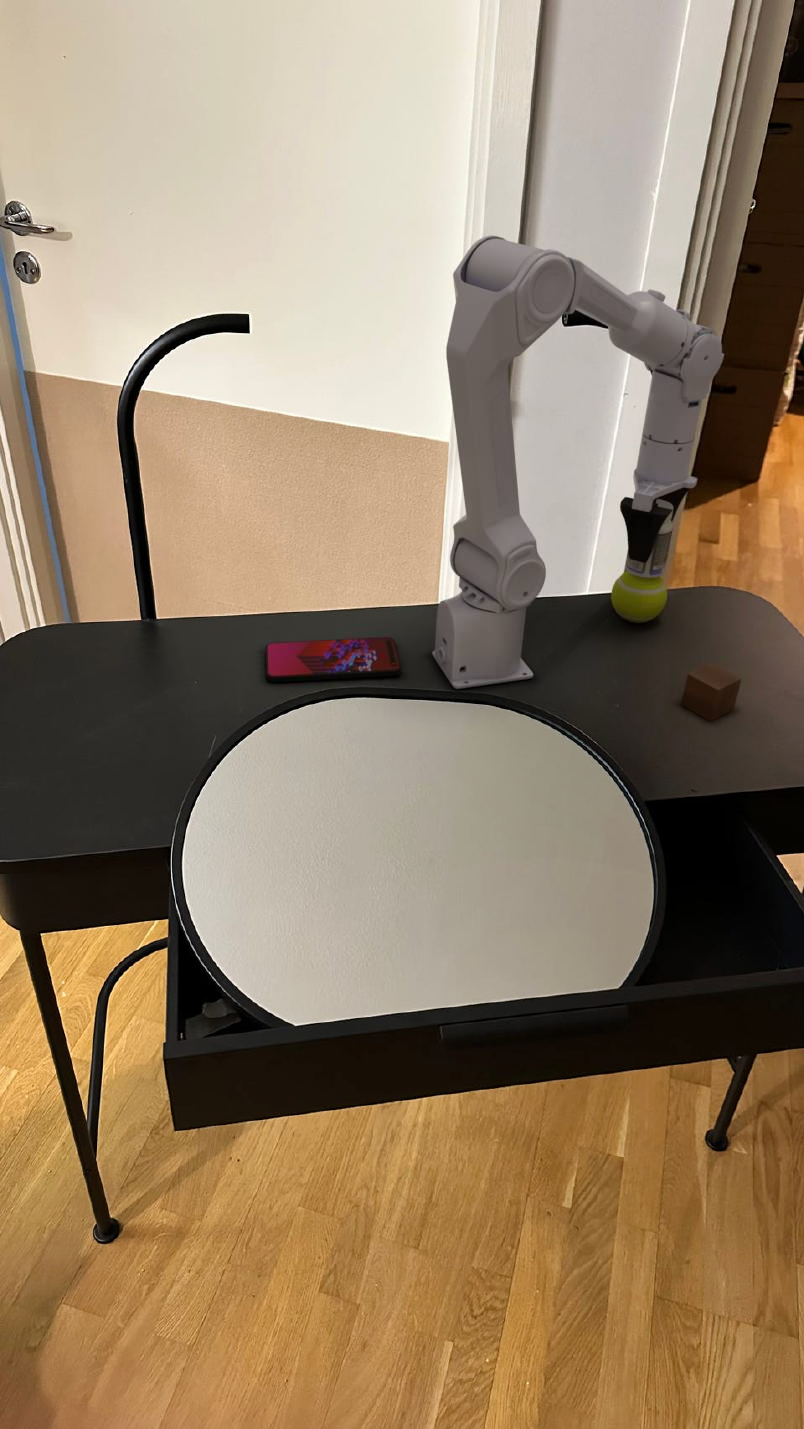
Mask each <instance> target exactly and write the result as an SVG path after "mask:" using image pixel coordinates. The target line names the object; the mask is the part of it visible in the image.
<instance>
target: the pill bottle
mask: <svg viewBox="0 0 804 1429" xmlns="http://www.w3.org/2000/svg"><path fill="white" fill-rule="evenodd" d="M657 503H658V507H663V508H668V509H672V510H673V505H672V504H671V503H669V502H667V501H664V500H659V499H657V501H656V504H657ZM672 514H673V511H672V512H671V513H670V514H669V516H668V517H667V518H666V520H665V521H664V523H663V525H662V527H661V529H660V531H659V533H658V536H657V538H656V541H655V544H654V547H653V550H652V553H651V555H650V557H649V559H648V561H647V562H646V563H644V562H639V561H635V560H631V559H629V553H628V552H627V553H626V560H625V567H624V568H625V570H626V571H628V572H629V573H630V574H632V575H634V576H637V577H642V578H657V577H662V576H663V575H664V574H665V571H666V567H667V561H668V556H669V552H670V551H669V550H670V546H671V541H672V536H673V530H674V523H673V522H672V521H671V518H672Z"/></svg>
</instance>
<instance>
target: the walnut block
mask: <svg viewBox="0 0 804 1429" xmlns="http://www.w3.org/2000/svg"><path fill="white" fill-rule="evenodd" d="M741 682H742V678H741V677H739V676H737V675H736V674H734V673H732V672H730V671H728V670H726V669H724V668H722V667H720V666H718V665H716V664H715V663H712V662H710V663H708V664H706V665H703V666H702V667H699V668H697V669H695V670H693V671H691V672H688V673H687V675H686V680H685V684H684V685H685V686H684V688H683V694H682V698H681V703H680V706H683V707H684V708H686V709H687V710H689V711H691V712H693V713H695V714H696V715H698V716H700V717H702V718H703V719H705V720H707V721H709V722H712V721H714V720H716V719H719V718H720V717H722V716H724V715H726V714H728V713H730V712H732V711H734V710H735V705H736V702H737V699H738V695H739V690H740V687H741Z"/></svg>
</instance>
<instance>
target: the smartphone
mask: <svg viewBox="0 0 804 1429" xmlns="http://www.w3.org/2000/svg"><path fill="white" fill-rule="evenodd" d="M401 673H402V664H401V660H400V656H399V651H398V647H397V642H396V640H395V639H394V638H392V637H390V636H383V637H381V636H379V637H363V638H362V637H359V638H340V639H339V638H337V639H320V640H300V641H297V640H296V641H276V642H270V643H268V644H266V645H265V676H266V677H265V678H266V680H267V681H269V682H271V683H279V682H280V683H282V682H299V681H300V682H301V681H319V680H320V681H321V680H338V679H351V678H352V679H355V678H374V677H393V676H394V677H395V676H399V675H400V674H401Z"/></svg>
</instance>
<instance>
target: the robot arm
mask: <svg viewBox="0 0 804 1429" xmlns="http://www.w3.org/2000/svg"><path fill="white" fill-rule="evenodd" d="M452 280H453V288H454V289H453V290H454V296H455V304H454V308H453V314H452V318H451V322H450V328H449V332H448V338H447V341H446V342H447V343H446V347H445V349H446V350H445V354H446V356H445V358H446V365H447V366H446V367H447V372H448V381H449V390H450V396H451V405H452V413H453V420H454V428H455V435H456V437H455V438H456V445H457V451H458V452H457V453H458V460H459V461H458V462H459V468H460V475H461V484H462V493H463V499H464V507H465V508H464V509H465V515H463V516H461V517H460V518H459V519H458V520H457V521H456V522H455V523H453V526H452V529H453V542H452V547H451V550H450V556H449V564H450V567H451V569H452V571H453V573H454V574H455V575H456V576H457V577H459V581H458V582H459V583H458V588H459V589H461V592H460V593H457V595H455V596H452V597H450V598H447V599H443V600H441V601H439V603H438V605H437V610H436V621H435V640H434V642H435V643H434V650H433V651H432V655H431V656H432V657H433V658H434V660H435V661H436V663H437V665H438V667H440V669H441V670H442V672H443V674H444V675H445V677H446V678H447V680H448V682H449V683H450V684H451V686H452V688H454V689H456V690H461V689H467V688H474V687H480V686H489V685H494V684H502V683H509V682H515V681H522V680H528V679H529V680H530V679H533V678H534V673H533V671H532V670H531V669H530V668H529V666H528V665H527V664H526V663H525V661H524V660H523V659H522V649H523V642H524V633H525V632H524V631H525V626H526V625H525V624H526V614H527V607H528V606H531V605H532V603H533V601H534V600H535V599H536V598H537V597H538V596H539V595H540V592H541V591H542V589H543V587H544V584H545V581H546V576H547V570H546V569H547V567H546V564H545V561H544V559H542V557H541V556H540V555H539V552H538V548H537V547H538V546H537V539H536V537H535V535H534V534H533V533H532V531H531V529H530V527H529V526H528V525H527V523H526V522H525V520H524V519H523V517H522V515H521V510H520V498H519V488H518V474H517V462H516V452H515V440H514V430H513V429H514V428H513V418H512V417H513V416H512V405H511V394H510V382H509V381H510V380H509V370H508V369H509V368H508V367H509V365H510V363H511V362H512V361H513V359H514V358H517V357H519V356H521V355H522V354H523V353H524V352H525V351H527V349H528V348H530V347H531V346H532V345H533V344H534V343H535V342H536V341H537V340H539V338H541V337H542V336H543V335H544V334H545V333H547V331H548V330H549V329H550V328H551V327H553V326H554V325H555V324H556V323H557V322H558V321H559V320H560V319H561V317H562V316H563V315H564V314H567V315H572V314H573V313H575V311H577V312H579V313H581V314H583V315H584V316H587V317H589V318H591V319H593V320H594V321H597V322H599V323H601V324H602V325H605V326H607V327H608V328H607V330H608V337H609V340H610V342H611V344H613V346H615V347H616V348H618V349H619V350H621V351H623V352H625V353H627V354H628V355H630V356H632V357H633V358H635V359H637V360H638V361H640V362H642V363H644V364H643V365H644V367H645V369H646V370H647V371H648V372H651V371H652V373H651V379H650V385H649V391H648V397H647V403H646V410H645V415H644V422H643V427H642V433H641V439H640V445H639V451H638V456H637V462H636V468H635V469H634V471H633V476H632V478H633V484H634V493H633V497H628V496H625V497H624V498H622V500H621V501H620V504H619V511H620V513H621V516H622V518H623V520H624V524H625V528H626V536H627V553H629V559H631V560H635V561H639V562H644V563H646V562H647V561H648V559H649V557H650V555H651V553H652V550H653V547H654V544H655V541H656V538H657V536H658V533H659V531H660V529H661V527H662V525H663V523H664V521H665V520H666V518H667V517H668V516H669V514H670V513H671V512H672V511H673V514H672V518H671V521H672V523H673V522H674V519H675V516H676V514H677V511H678V509H679V507H680V506H681V504H682V502H683V499H684V498H685V496H686V495H687V493H688V492H689V491H690V489H693V488H695V487H696V486H697V482H698V477H695V476H691V475H689V474H688V473H689V468H690V462H691V457H692V452H693V448H694V442H695V438H696V433H697V428H698V423H699V419H700V418H699V417H700V413H701V407H702V402H703V400H705V399H706V397H707V395H708V394H709V393H710V387H711V383H712V381H713V379H714V377H715V376H716V375H717V373H718V372H719V370H720V368H721V365H722V363H723V360H724V357H725V353H723V347H722V346H723V345H722V342H721V339H720V338H719V335H718V334H717V331H715V330H714V329H713V328H710V327H708V326H704V325H700V324H697V323H694V322H692V320H690V319H691V316H692V314H691V313H689V312H688V311H686V310H684V309H676V310H675V309H674V308H672V307H671V306H669V305H668V304H666V303H665V302H664V301H665V300H666V295H665V294H663V292H661V291H658V290H655V289H647V291H642V290H640V291H639V290H638V291H634V292H632V293H629V294H626V293H624V291H622V290H621V289H619V287H617V286H616V285H614V284H612V283H611V282H610V281H608V280H607V279H606V278H604V277H603V276H601V275H600V274H599V273H598V272H596V271H594V270H593V269H591V267H589V266H588V265H586V263H584V262H583V261H581V260H580V259H577V258H573V257H569V256H566V255H565V254H564V253H563V252H561V251H559V250H555V249H542V248H538V247H534V246H531V245H526V244H523V243H519V242H514V241H509V240H507V239H505V238H504V237H501V236H498V235H487V236H484V237H481V238H479V239H478V240H476V241H475V242H474V243H473V244H472V245H471V246H470V248H469V249H468V250H467V252H466V254H465V255H464V257H463V258H462V259H461V261H460V262H459V264H458V265H457V267H456V268H455V269H454V271H453V273H452ZM657 499H659V500H664V501H667V502H669V503H671V504H672V505H673V510H672V509H668V508H663V507H658V503H657V504H656V501H657Z"/></svg>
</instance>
